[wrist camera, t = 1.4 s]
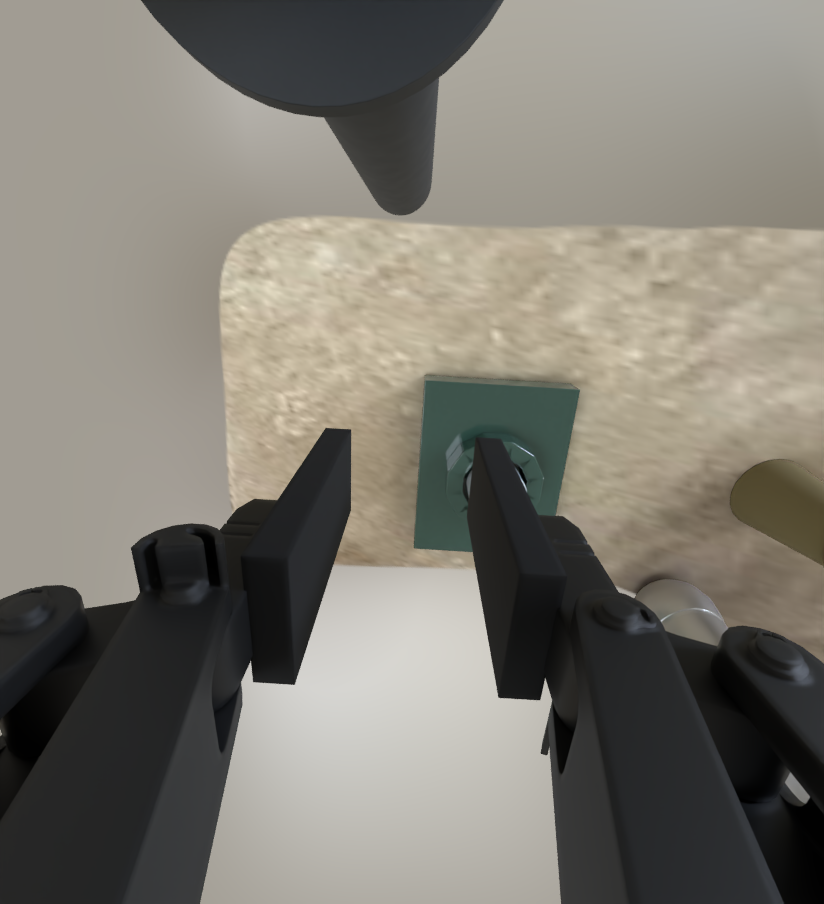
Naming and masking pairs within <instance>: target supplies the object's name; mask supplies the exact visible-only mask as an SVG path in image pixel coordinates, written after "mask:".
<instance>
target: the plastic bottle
mask: <svg viewBox="0 0 824 904" xmlns="http://www.w3.org/2000/svg"><path fill="white" fill-rule="evenodd" d="M634 599H636V600H638V601H640V602H642V603H643V604H644V605H646V606H647V607H648V608H649V609H651V610H652V611H653V612H654V613H655V614H656V615H657V617H658V618H659V620H660V621H661V623H662V624H663V626H664V628H665V631H667V632H670V633H673V634H676V635H679V636H683V637H686V638H690V639H693V640H697V641H700V642H704V643H708V644H711V645H715V646H718V643H719V641H720V638H721V636H722V634H723V633H724V632H725V631H726V630H727V629H728V627H727V626H726V624H725V621H724V619H723V618H722V616H721V614H720V612H719V611H718V609H717V608H716V606H715V605H714V603H713V602H712V600H711V599H710V598H709V597H708V596H707V595H705V594H704V593H703V592H701V591H700V590H699V589H698V588H696V587H695V586H694V585H692V584H690V583H687V582H684V581H680V580H674V579H662V580H658V581H654V582H652V583H649V584H648V585H646V586H644V587H643V588H642V589H641V590H640V591H639V592H638V593H637V594H636V596H635V598H634ZM785 783H786V785H787V786H788V787H789V789H790V790H791V791H792V792H793V794H794V795H795V796H796V797H797V798H798V799H799V800H800V801H802V802H803V803H805V804H806V803H807V801H808V800H809V798H810V796H809V795H808V794H807V792H806V791H805V790H804V789H803V787H802V786H801V785H800V784H799V782H798V781H797V780H796V779H795V777H794V776H793V775H792V773H791V772H790V774H789V776H788V778H787V780H786V781H785Z"/></svg>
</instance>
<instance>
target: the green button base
mask: <svg viewBox="0 0 824 904" xmlns="http://www.w3.org/2000/svg"><path fill="white" fill-rule="evenodd" d="M579 393H580V389H578V388H577V387H575V386H574V385H572V384H569V383H552V382H536V381H519V380H502V379H486V378H469V377H452V376H435V375H425V379H424V394H423V410H422V425H421V440H420V455H419V471H418V486H417V501H416V516H415V531H414V548H416V549H432V550H448V551H464V552H473V550H472V545H471V539H470V533H469V528H468V522H467V510H468V501H469V498H468V494H467V488H466V482H467V478H468V475H469V473H470V472H471V470H472V466H473V457H474V448H475V440H476V437H481V438H497V439H502V442H503V444H504V446H505V448H506V450H507V452H508V454H509V456H510V458H511V460H512V462H513V464H514V466H515V467H516V469H517V470H518V472H519V473H520V475H521V477H522V480H523V482H524V484H525V486H526V489H527V493H528V495H529V498H530V500H531V502H532V504H533V506H534V508H535V510H536V512H537V514H538V515H548V516H555V514H556V509H557V504H558V499H559V494H560V489H561V484H562V479H563V474H564V469H565V464H566V459H567V454H568V448H569V443H570V438H571V433H572V428H573V423H574V418H575V413H576V408H577V403H578V398H579Z"/></svg>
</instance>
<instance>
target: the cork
mask: <svg viewBox="0 0 824 904" xmlns="http://www.w3.org/2000/svg"><path fill="white" fill-rule="evenodd" d="M730 505H731V509H732V512H733V514H734V515H735V516H736V517H737V518H738V520H740V521H742V522H744V523H745V524H747V525H749V526H751V527H753V528H755V529H756V530H758V531H760V532H762V533H764V534H766V535H767V536H769V537H771V538H773V539H775V540H777V541H779V542H780V543H782V544H784V545H786V546H788V547H790V548H791V549H793V550H795V551H797V552H799V553H801V554H802V555H804V556H806V557H808V558H810V559H812V560H814V561H815V562H817V563H819V564H821V565H823V566H824V482H823V481H821V480H820V479H818V478H817V477H816V476H814V475H813V474H811V473H810V472H809V471H807V470H806V469H804V468H803V467H802V466H800V465H798V464H796V463H794V462H793V461H789V460H782V459H778V460H771V461H766V462H763V463H761V464H758V465H756V466H754V467H753V468H751V469H750V470H748V471H747V472H746V473H744V474H743V475H742V477H741V478H740V479H739V480H738V481H737V482H736V484H735V486H734V488H733V490H732V493H731V499H730Z"/></svg>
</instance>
